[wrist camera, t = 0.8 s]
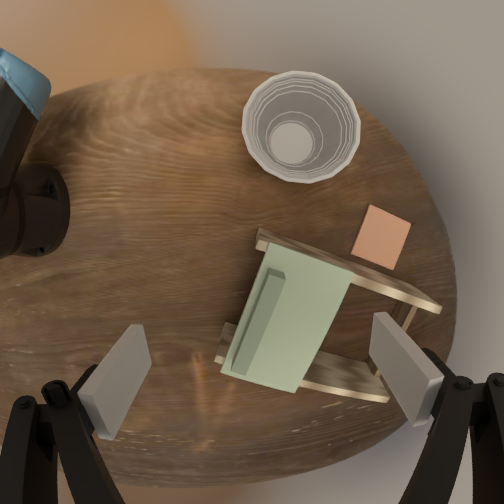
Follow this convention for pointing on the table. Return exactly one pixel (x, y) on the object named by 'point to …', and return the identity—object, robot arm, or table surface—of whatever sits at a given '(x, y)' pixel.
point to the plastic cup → (301, 127)
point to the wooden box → (333, 366)
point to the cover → (285, 317)
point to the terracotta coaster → (380, 237)
